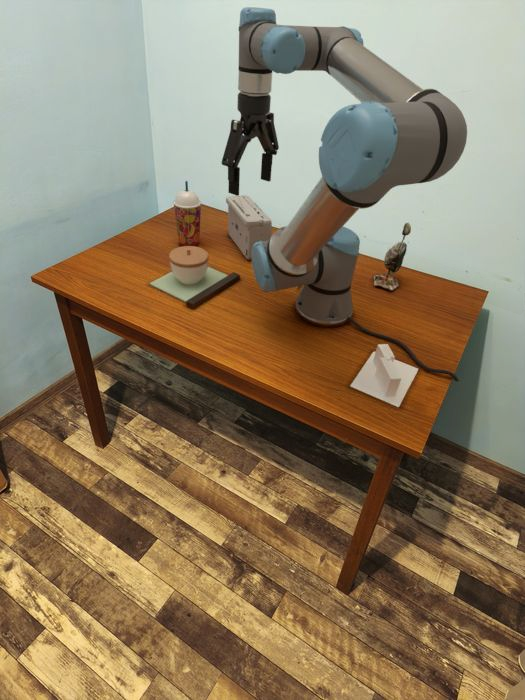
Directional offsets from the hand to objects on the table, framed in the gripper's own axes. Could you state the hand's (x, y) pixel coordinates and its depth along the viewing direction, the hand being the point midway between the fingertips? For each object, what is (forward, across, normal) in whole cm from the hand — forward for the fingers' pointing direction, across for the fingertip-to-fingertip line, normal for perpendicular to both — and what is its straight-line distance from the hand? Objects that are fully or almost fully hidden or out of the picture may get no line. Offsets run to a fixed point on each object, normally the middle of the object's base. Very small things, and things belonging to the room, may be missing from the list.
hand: (250, 186), depth 117 cm
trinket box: (+26, +12, -11) cm, 31 cm away
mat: (+27, +12, -11) cm, 31 cm away
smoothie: (+27, -5, -27) cm, 38 cm away
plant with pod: (+27, -26, +33) cm, 50 cm away
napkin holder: (+27, +14, +50) cm, 59 cm away
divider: (+27, +12, -2) cm, 29 cm away
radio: (+27, -16, -12) cm, 34 cm away
